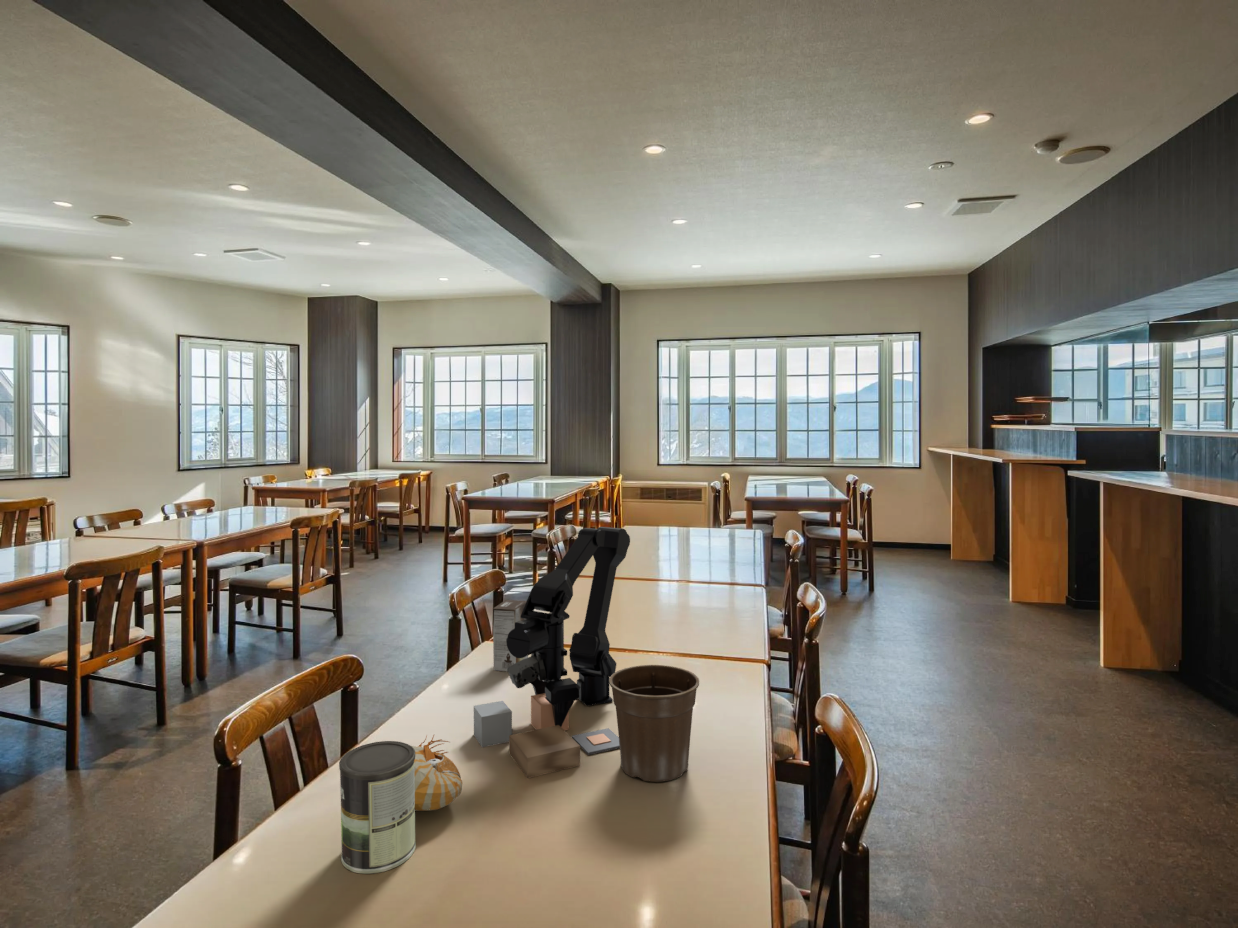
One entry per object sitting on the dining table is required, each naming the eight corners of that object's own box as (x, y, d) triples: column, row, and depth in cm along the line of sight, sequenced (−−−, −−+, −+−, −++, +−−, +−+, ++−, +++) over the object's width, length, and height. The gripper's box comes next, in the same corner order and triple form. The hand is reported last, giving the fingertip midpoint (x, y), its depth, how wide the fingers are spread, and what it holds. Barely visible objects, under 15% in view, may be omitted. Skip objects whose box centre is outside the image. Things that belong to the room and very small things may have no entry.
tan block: (558, 744, 135) (558, 724, 135) (579, 767, 126) (579, 745, 126) (509, 756, 130) (509, 735, 130) (527, 779, 121) (527, 757, 121)
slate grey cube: (503, 729, 141) (502, 700, 141) (511, 741, 136) (511, 711, 135) (473, 735, 138) (473, 705, 138) (481, 747, 133) (481, 716, 133)
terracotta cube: (558, 718, 146) (558, 690, 146) (568, 729, 141) (568, 700, 141) (531, 724, 144) (530, 695, 143) (541, 735, 138) (540, 705, 138)
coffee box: (505, 658, 184) (505, 599, 183) (528, 660, 183) (528, 600, 182) (492, 670, 175) (492, 607, 174) (516, 672, 174) (516, 609, 173)
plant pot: (595, 754, 130) (595, 670, 129) (672, 739, 136) (672, 659, 136) (631, 797, 115) (631, 701, 114) (715, 778, 121) (716, 687, 121)
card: (608, 730, 140) (608, 726, 140) (626, 746, 133) (626, 742, 133) (571, 737, 137) (571, 734, 137) (588, 755, 130) (588, 751, 130)
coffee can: (330, 876, 94) (328, 775, 94) (353, 832, 105) (351, 741, 104) (408, 872, 95) (406, 772, 95) (422, 829, 106) (421, 739, 105)
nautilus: (411, 763, 128) (490, 772, 126) (351, 821, 106) (444, 834, 104) (414, 720, 128) (492, 729, 126) (354, 769, 106) (447, 781, 104)
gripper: (498, 637, 146) (498, 709, 147) (526, 663, 130) (527, 745, 130) (547, 630, 151) (548, 700, 152) (581, 655, 135) (581, 734, 135)
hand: (549, 719), depth 142 cm, fingers open, 9 cm apart
